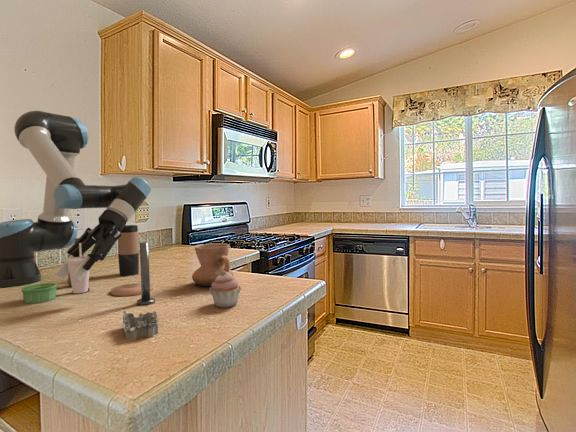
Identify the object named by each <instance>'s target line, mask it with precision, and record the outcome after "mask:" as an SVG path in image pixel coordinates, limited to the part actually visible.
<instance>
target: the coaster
mask: <svg viewBox="0 0 576 432" xmlns="http://www.w3.org/2000/svg"><path fill="white" fill-rule="evenodd" d="M153 290H154V285H153V284H152V283H150V292H152V291H153ZM110 295H112V296H116V297H132V296H139V295H140V296H141V282H140V283H139V282H137V283H128V284H121V285H117V286H115V287H112V288H111V289H110Z"/></svg>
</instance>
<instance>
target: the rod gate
mask: <svg viewBox="0 0 576 432" xmlns="http://www.w3.org/2000/svg"><path fill="white" fill-rule="evenodd" d="M79 238H80V237H77V238H75V239H74V240H75V242H76V241H77V240H78V239H79ZM75 242H74V243H75ZM149 250H150V247H149V242H148V241H143V242H139V258H140V259H139V265H140V283H141V294H140V296H141V298H140V299H137V300H136V304H137V306H148V305H149V306H150V305H152V304H155V303H156V298H155V297H151V291H150V284H151V283H150V280H151V279H150V275H151V274H150V251H149ZM84 254H85V253H84ZM84 254H83V255H82V257H85V256H84ZM89 292H90V287H88V291H86V292H83V293H73V290H71V294H72V295H73V294H74V295H80V294H86V293H89Z"/></svg>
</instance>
